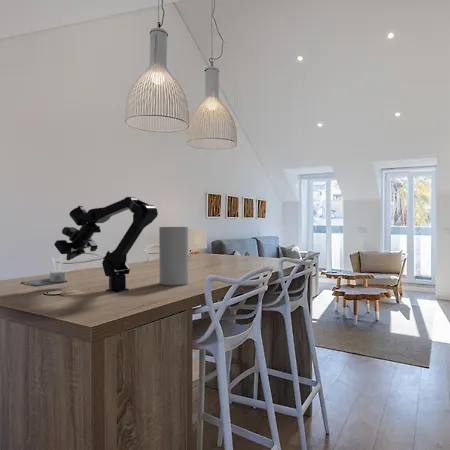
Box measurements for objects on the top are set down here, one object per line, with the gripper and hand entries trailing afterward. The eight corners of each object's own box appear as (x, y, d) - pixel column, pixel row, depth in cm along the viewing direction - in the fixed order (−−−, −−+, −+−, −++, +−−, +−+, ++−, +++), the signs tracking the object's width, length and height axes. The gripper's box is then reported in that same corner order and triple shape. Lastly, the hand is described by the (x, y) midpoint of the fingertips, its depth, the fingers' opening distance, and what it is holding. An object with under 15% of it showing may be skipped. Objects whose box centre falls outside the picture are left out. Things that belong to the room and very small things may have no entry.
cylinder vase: (190, 281, 170) (190, 226, 169) (185, 286, 157) (184, 227, 157) (163, 281, 171) (163, 226, 171) (156, 285, 158) (155, 227, 158)
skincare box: (50, 272, 164) (49, 269, 175) (50, 282, 165) (49, 278, 175) (65, 272, 167) (63, 268, 178) (65, 282, 167) (63, 277, 178)
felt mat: (67, 281, 170) (67, 280, 170) (36, 286, 158) (36, 284, 158) (50, 279, 178) (50, 277, 178) (20, 283, 167) (20, 281, 167)
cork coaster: (89, 293, 143) (89, 292, 143) (68, 297, 136) (68, 296, 136) (76, 290, 148) (76, 289, 148) (54, 294, 141) (54, 293, 141)
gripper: (91, 220, 166) (74, 245, 171) (56, 220, 149) (38, 248, 154) (105, 237, 163) (88, 262, 167) (71, 239, 146) (52, 267, 150)
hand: (67, 259), depth 160 cm, fingers closed
